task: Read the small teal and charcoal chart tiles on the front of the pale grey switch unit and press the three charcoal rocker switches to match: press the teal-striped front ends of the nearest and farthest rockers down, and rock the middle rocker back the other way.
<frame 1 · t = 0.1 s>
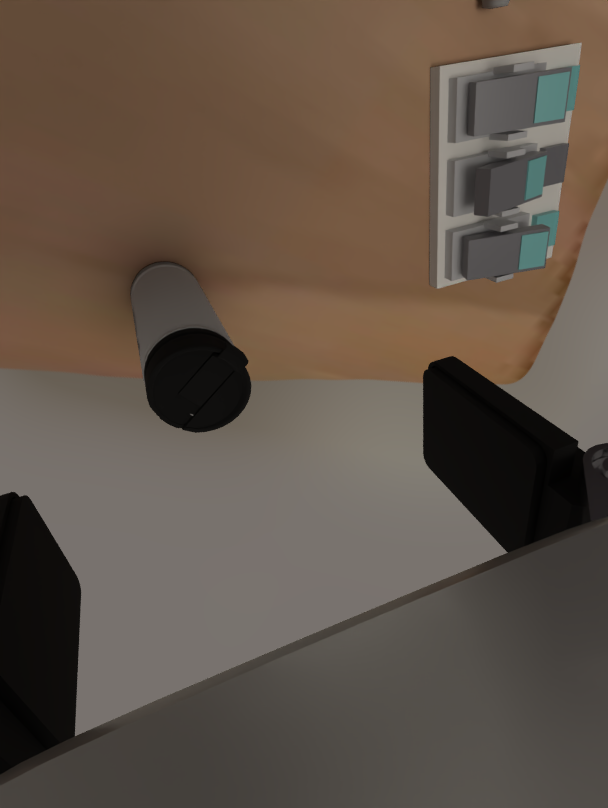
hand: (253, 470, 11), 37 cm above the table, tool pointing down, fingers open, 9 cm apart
rocker middle: (511, 183, 46), point 5 cm above the table, hinge at -15.0°
travel mug: (167, 293, 45), on the table
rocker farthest: (504, 252, 49), point 5 cm above the table, hinge at 15.0°
switch unit: (493, 173, 50), on the table
rocker nearest: (517, 102, 42), point 5 cm above the table, hinge at 15.0°
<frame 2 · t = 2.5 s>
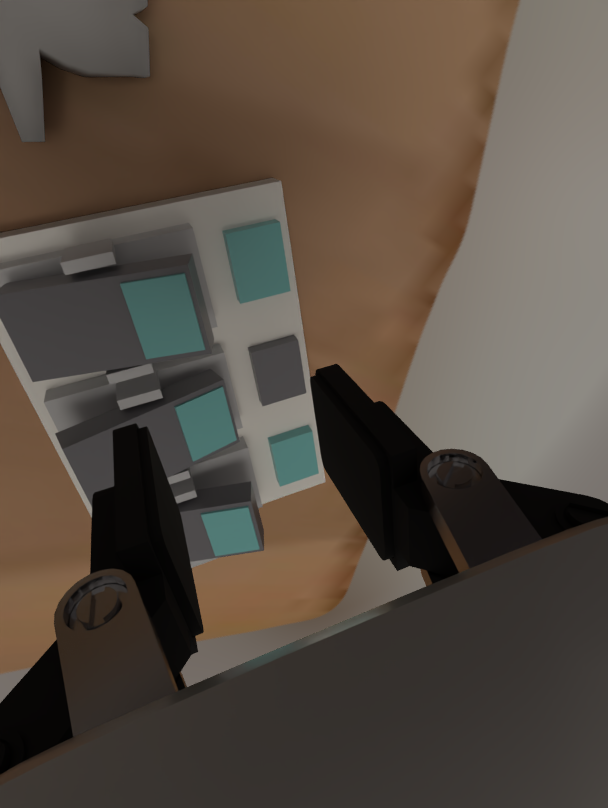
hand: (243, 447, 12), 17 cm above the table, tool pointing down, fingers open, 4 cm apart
rocker middle: (156, 438, 25), point 5 cm above the table, hinge at -15.0°
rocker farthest: (189, 527, 28), point 5 cm above the table, hinge at 15.0°
switch unit: (181, 382, 29), on the table
rocker nearest: (110, 319, 21), point 5 cm above the table, hinge at 15.0°
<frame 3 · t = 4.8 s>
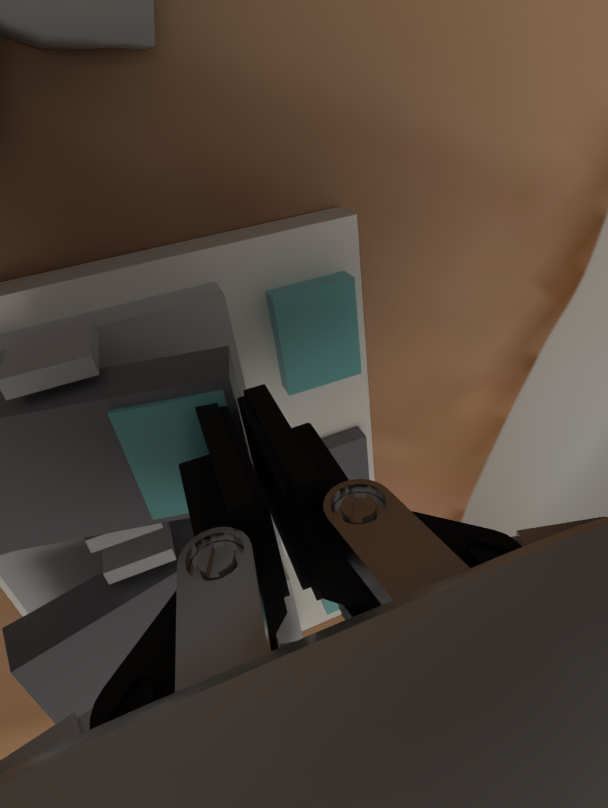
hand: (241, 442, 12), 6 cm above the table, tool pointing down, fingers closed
rocker middle: (164, 608, 16), point 5 cm above the table, hinge at -15.0°
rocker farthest: (209, 705, 20), point 5 cm above the table, hinge at 15.0°
switch unit: (196, 491, 21), on the table
rocker nearest: (90, 457, 13), point 5 cm above the table, hinge at 13.0°, touching gripper
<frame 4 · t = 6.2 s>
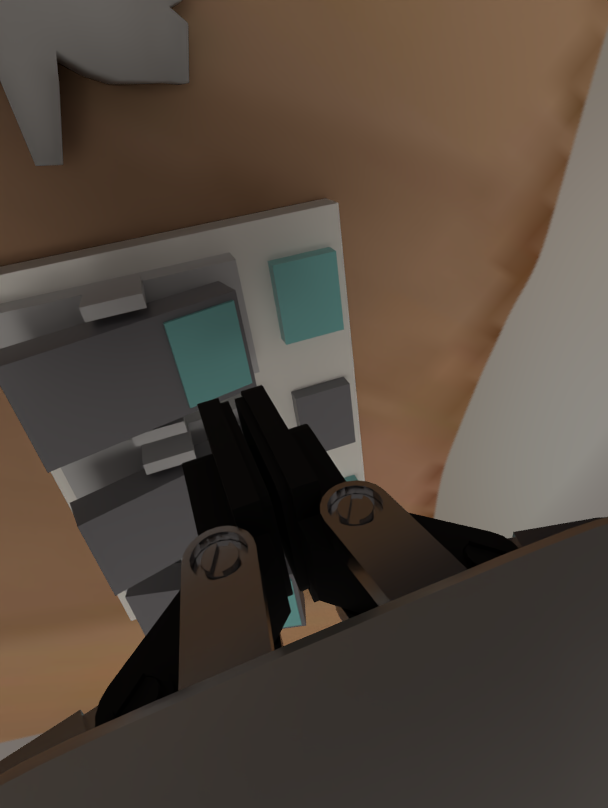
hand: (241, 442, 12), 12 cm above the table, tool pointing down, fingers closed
rocker middle: (186, 503, 21), point 5 cm above the table, hinge at -15.0°
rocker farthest: (220, 598, 24), point 5 cm above the table, hinge at 15.0°
switch unit: (213, 429, 26), on the table
rocker nearest: (138, 371, 18), point 5 cm above the table, hinge at -13.3°
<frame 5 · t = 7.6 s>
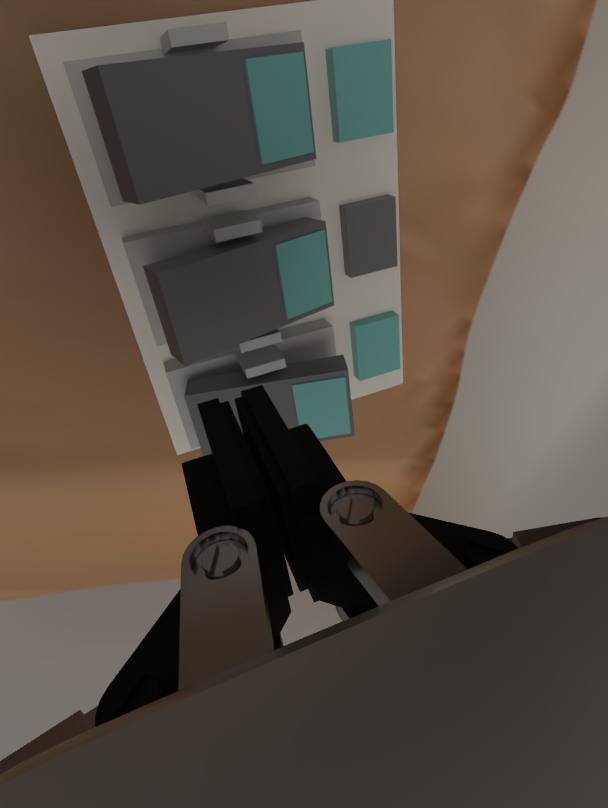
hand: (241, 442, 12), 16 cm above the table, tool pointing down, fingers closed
rocker middle: (249, 288, 22), point 5 cm above the table, hinge at -15.0°
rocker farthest: (272, 408, 25), point 5 cm above the table, hinge at 15.0°
switch unit: (260, 251, 26), on the table
rocker nearest: (215, 120, 18), point 5 cm above the table, hinge at -18.5°
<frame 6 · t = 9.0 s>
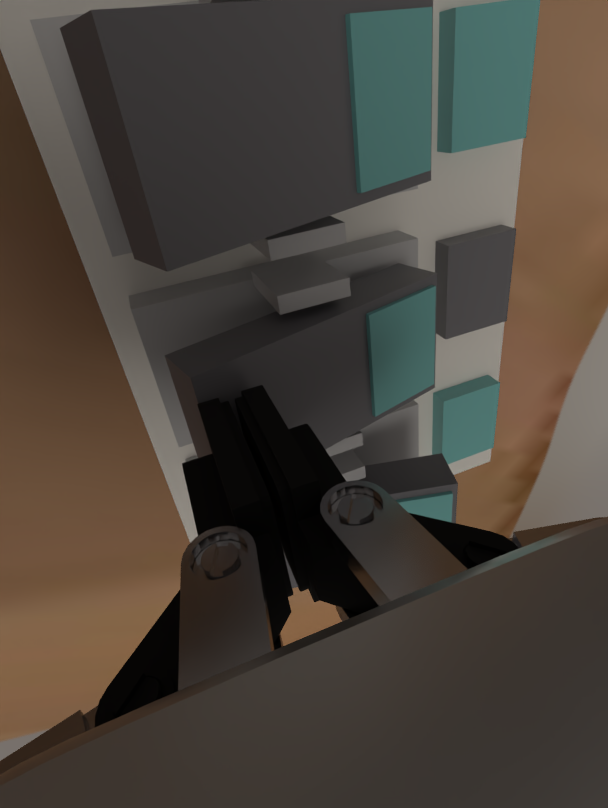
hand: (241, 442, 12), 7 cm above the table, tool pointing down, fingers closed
rocker middle: (321, 374, 14), point 5 cm above the table, hinge at -15.0°, touching gripper
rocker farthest: (340, 527, 18), point 5 cm above the table, hinge at 15.0°
switch unit: (320, 303, 19), on the table
rocker nearest: (289, 121, 11), point 5 cm above the table, hinge at -19.6°
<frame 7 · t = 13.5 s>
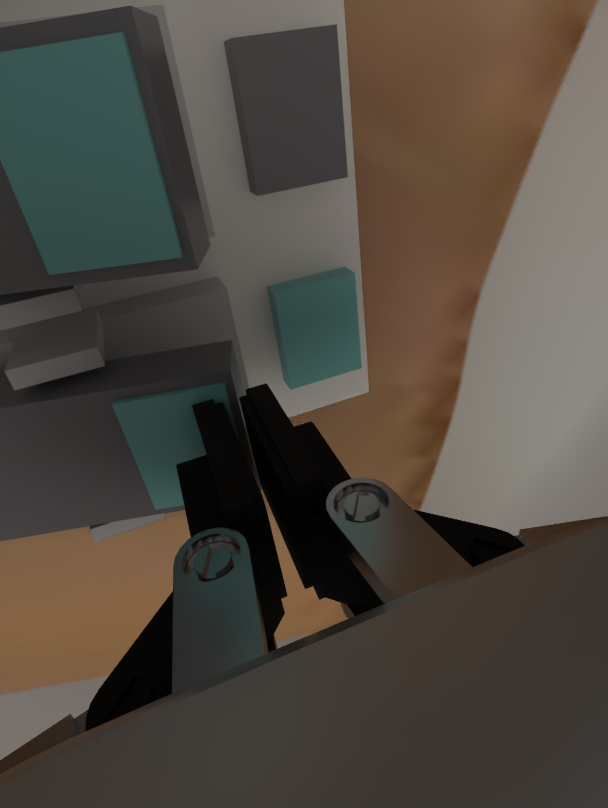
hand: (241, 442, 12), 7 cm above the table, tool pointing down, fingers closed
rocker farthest: (95, 447, 13), point 5 cm above the table, hinge at 14.3°, touching gripper
switch unit: (85, 145, 14), on the table
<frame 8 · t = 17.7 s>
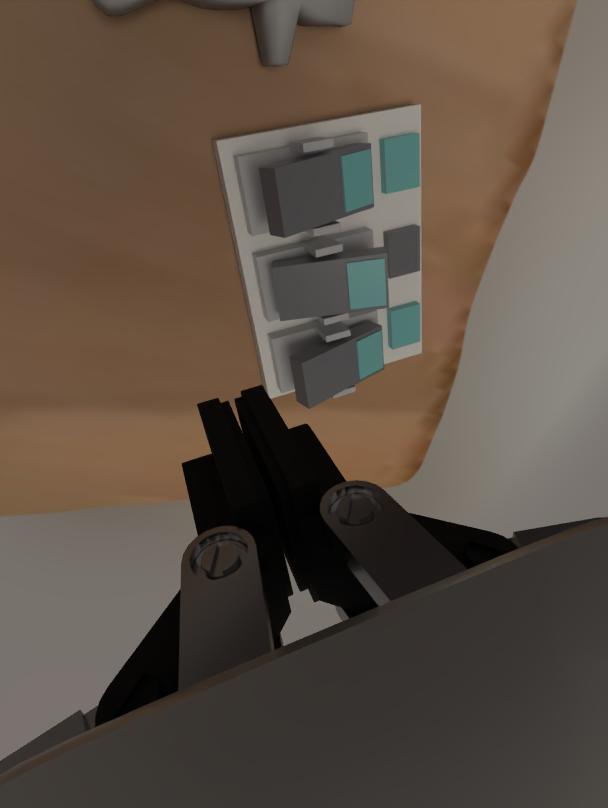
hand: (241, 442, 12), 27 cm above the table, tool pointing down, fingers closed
rocker middle: (331, 284, 35), point 5 cm above the table, hinge at 20.1°
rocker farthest: (340, 363, 39), point 5 cm above the table, hinge at -16.8°
switch unit: (330, 261, 40), on the table
rocker nearest: (321, 188, 32), point 5 cm above the table, hinge at -19.8°
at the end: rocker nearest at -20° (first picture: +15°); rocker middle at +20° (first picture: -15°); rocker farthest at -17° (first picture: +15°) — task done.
